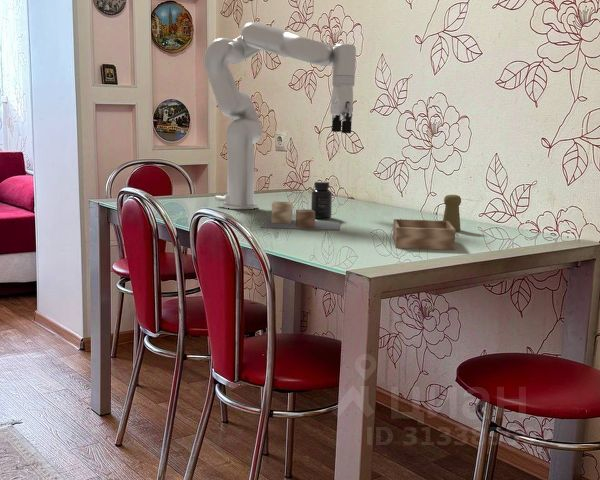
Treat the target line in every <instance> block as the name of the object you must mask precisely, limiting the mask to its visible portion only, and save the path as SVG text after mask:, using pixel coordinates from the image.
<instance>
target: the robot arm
mask: <svg viewBox="0 0 600 480" xmlns="http://www.w3.org/2000/svg"><path fill="white" fill-rule="evenodd" d="M241 28H242V29H241V32H240V35H239V36H238V37H236V38H235V39H232V38H228V37H219V38H217V39H214V40H213V41H211V42H210V44H209V45H208V46H207V48H206V50H205V53H204V57H203V63H204V65H203V66H204V70H205V73H206V75H207V78H208V80H209V83H210V86H211V90H212V93H213V95H214V98H215V101H216V103H217V106H218V110H219V111H220V113H221V114H223V116H225V117H228V118H231V119H232V121H231V122H230V123H229V124H228V125H227V128H226V129H225V143H226V152H227V153H226V154H227V156H226V157H227V160H226V161H227V193H226V194H224V195H215V197H214V198H215V202H224V203H223V204H222V208H225V209H228V208H229V210H255V209H258V207H259V205H258V203H255V202H254V201H255V200H254V199H255V191H254V190H255V152H254V145H255V144H257V143H258V142H259V141H260V140H261V138H262V134H263V129H262V124H261V122H260V121H261V120H260V119H259V115H258V113H257V111H256V109H255V105H254V103H253V100H252V99H251V97H250V95H249V94H248V93H246V92H244V91H243V90H239V88H238V85H237V84H236V81H235V78H234V77H235V76H234V75H233V73H232V72H231V70H230V68H229V64H230V65H237V64H241V63H243V62H244V61H246V60H247V59H249V58H252V56H255V55H256V54H259V53H260V52H261V51H264V52H267V53H271V54H274V55H277V56H281V57H284V58H285V57H287V58H291V59H295V60H299V61H302V62H306V63H309V64H312V65H315V66H316V65H317V66H321V67H330V66H332V83H331V85H332V91H331V100H330V112H329V113H330V114H331V115H332V117H331V120H332V121H331V132H333V133H334V132H335V133H340V132H341V133H342V134H351V133H352V122H353V118H352V117H353V112H354V89H353V88H354V87H355V80H356V79H355V77H356V76H355V75H356V58H357V57H356V56H357V48H356V46H355V44H352V43H337V44H328V43H326V42H322V41H318V40H315V39H311V38H307V37H305V36H300V35H297V34H294V33H292V32H290V31H288V30H284V29H280V28H276V27H273V26H270V25H266V24H264V23H260V22H253V21H251V22H247V23H246V24H244V26H243V27H241ZM341 119H342V120H341ZM254 208H255V209H254Z"/></svg>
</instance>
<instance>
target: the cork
mask: <svg viewBox="0 0 600 480" xmlns="http://www.w3.org/2000/svg"><path fill="white" fill-rule="evenodd" d="M443 203H444V205H445V206H444V212H443V217H442V221H449V222H450V224H451V225H452V226H453V227H454V228H455V233H456V232H461V230H462V229H461V219H460V218H461V217H460V216H461V215H460V205H461V203H462V198H461V196H460V195H458V194H447V195H445V196H444V199H443Z"/></svg>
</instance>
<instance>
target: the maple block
mask: <svg viewBox="0 0 600 480" xmlns="http://www.w3.org/2000/svg"><path fill="white" fill-rule="evenodd" d="M271 219H272V223H291V222H292V220H293V201H276V200H275V201H273V202H272V203H271Z"/></svg>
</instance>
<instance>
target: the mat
mask: <svg viewBox="0 0 600 480" xmlns="http://www.w3.org/2000/svg"><path fill="white" fill-rule="evenodd" d="M340 226H341V221H333V220H332V221H330V220H329V221H327V220H315V228H298V227H297V226H296V219H292V222H291V223H272V218H270V219H269V218H267V219H265V220H264V222H263V223H262V224H261V226H260V227H259V228H260V229H284V230H309V231H310V230H312V231H314V230H315V231H316V230H317V231H340V228H341V227H340Z"/></svg>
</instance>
